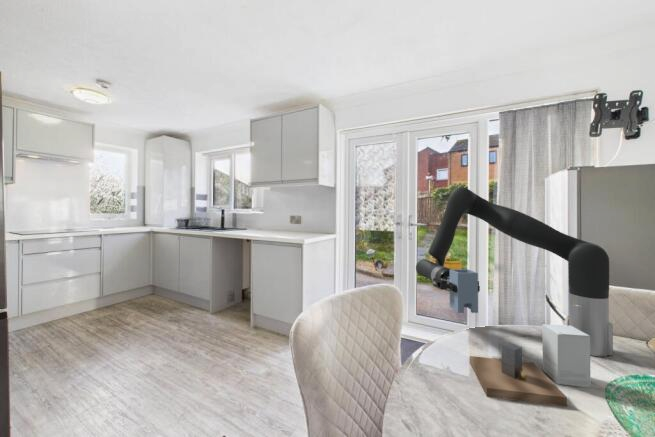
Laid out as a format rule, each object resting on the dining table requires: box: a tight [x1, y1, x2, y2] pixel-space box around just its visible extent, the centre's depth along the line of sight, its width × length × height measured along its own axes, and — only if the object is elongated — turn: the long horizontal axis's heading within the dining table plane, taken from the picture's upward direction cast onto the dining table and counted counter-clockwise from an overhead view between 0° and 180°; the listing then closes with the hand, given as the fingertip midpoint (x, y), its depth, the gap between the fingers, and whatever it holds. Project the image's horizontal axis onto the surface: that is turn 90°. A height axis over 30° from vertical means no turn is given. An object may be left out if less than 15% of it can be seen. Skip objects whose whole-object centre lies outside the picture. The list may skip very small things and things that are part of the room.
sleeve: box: [449, 268, 479, 314], centre depth 90 cm, size 6×6×12 cm
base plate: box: [469, 355, 568, 407], centre depth 73 cm, size 16×16×2 cm
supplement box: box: [541, 323, 591, 388], centre depth 75 cm, size 7×7×13 cm
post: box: [501, 342, 526, 381], centre depth 73 cm, size 5×5×7 cm
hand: (467, 289), depth 88 cm, fingers closed on sleeve, 6 cm apart
